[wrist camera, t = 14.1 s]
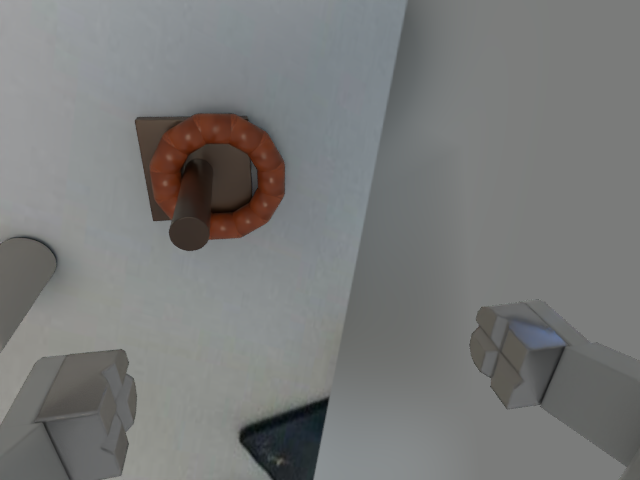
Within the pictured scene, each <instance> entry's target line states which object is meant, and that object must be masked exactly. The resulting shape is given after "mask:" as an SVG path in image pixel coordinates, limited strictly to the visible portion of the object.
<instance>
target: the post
mask: <svg viewBox="0 0 640 480" xmlns="http://www.w3.org/2000/svg"><path fill="white" fill-rule="evenodd" d="M240 117H241V118H243V119H245V120H247V121H248V117H247V116H240ZM188 118H189V117H137V118H136V120H135V125H136V130H137V136H138V141H139V146H140V152H141V157H142V163H143V168H144V173H145V179H146V184H147V190H148V195H149V201H150V206H151V211H152V217H153V221H163V220H171V219H170V218H169V217H168V216H167V215H166V213H165V212H164V211H163V210H162V209H161V208H160V206H159V205H158V204H157V203H156V201H155V199H154V195H153V189H152V183H151V176H150V170H149V165H150V161H151V159H152V157H153V155H154V153H155V151H156V149H157V146H158V144H159V142H160V140H161V138H162V136H163V134H164V133H165V132H166V131H168V130H169V129H171V128H173V127H174V126H176V125H178V124H179V123H181V122H183V121H184V120H186V119H188ZM181 179H182V182H181V186H180V190H179V194H178V198H177V202H176V206H175V210H174V214H173V218H172V222H171V226H170V230H169V236H170V239H171V241H172V242H173V244H174V245H175V246H177V247H178V248H180V249H182V250H186V251H194V250H198V249H200V248H202V247H203V246H204V245H205V244H206V243H207V242H208V240H209V235H210V219H211V212H212V213H228V212H234V211H236V210H238V209H239V208H241V207H243V206H245V205H246V204H248V203H249V202H250V200H251V199H252V184H251V165H250V158H249V156H248V155H247V154H246V153H245V152H243V151H241V150H239V149H237V148H235V147H233V146H231V145H229V144H206V145H204V146H203V147H201V148H199V149H198V150H196V151H194V152H193V153H191V154H189V156H188V158H187V160H186V162H185V164H184V166H183V168H182V170H181Z"/></svg>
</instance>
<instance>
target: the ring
mask: <svg viewBox="0 0 640 480" xmlns="http://www.w3.org/2000/svg"><path fill="white" fill-rule="evenodd" d="M206 144H229V145H231V146H233V147H235V148H237V149H239V150H241V151H243V152H245V153H246V154H247V155H248V156H249V158H250V159H251V161H252V162H253V164H254V166H255V167H256V169H257V175H258V188H257V190H256V192H255V193H254V195H253V197H252V199H251V200H250V202H249V203H248V204H246V205H245V206H243V207H241V208H239V209H238V210H236V211H234V212H228V213H212V212H211V219H210V235H209V240H213V239H230V238H241V237H243V236H245V235H247V234H249V233H250V232H252V231H254V230H255V229H257V228H259V227H261V226H262V225H264V224H266V223H267V222H268V221H269V220H270V219H271V217H272V215H273V214H274V212H275V210H276V209H277V207H278V205H279V204H280V202H281V200H282V199H283V197H284V194H285V164H284V160H283V158H282V157H281V155H280V153H279V152H278V150H277V148H276V147H275V145H274V143H273V142H272V140H271V138H270V136H269V135H268V134H267V133H266V132H265V131H264V130H262V129H261V128H259V127H257V126H255V125H254V124H252V123H250V122H248V121H247V120H245V119H243V118H241V117H240V116H238V115H236V114H218V113H198V114H195V115H193V116H191V117H189V118H188V119H186V120H184V121H183V122H181V123H179V124H178V125H176V126H174V127H173V128H171V129H169V130H168V131H166V132H165V133H164V134H163V136H162V138H161V140H160V142H159V144H158V146H157V149H156V151H155V153H154V155H153V157H152V159H151V161H150V165H149V170H150V176H151V183H152V189H153V195H154V199H155V201H156V203H157V204H158V205H159V206H160V208H161V209H162V210H163V211H164V212H165V213H166V215H167V216H168V217H169V218H170V219H171V221H172V218H173V214H174V210H175V206H176V202H177V198H178V194H179V190H180V186H181V182H182V179H181V170H182V168H183V166H184V164H185V162H186V160H187V158H188V156H189V154H191V153H193V152H194V151H196V150H198V149H199V148H201V147H203V146H204V145H206Z"/></svg>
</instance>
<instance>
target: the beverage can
mask: <svg viewBox="0 0 640 480" xmlns="http://www.w3.org/2000/svg"><path fill="white" fill-rule="evenodd" d="M55 269H56V259H55V257H54V255H53V253H52V252H51V251H50V250H49V248H47V247H46V246H45V245H43V244H42V243H40V242H37V241H35V240H32V239H28V238H14V239H10V240H7V241H4V242H3V243H2V244H0V353H1V351H2V350H3V348H4V347H5V345H6V344H7V342H8V341H9V339H10V338H11V336H12V335H13V333H14V332H15V330H16V329H17V328H18V326H19V325H20V323H21V322H22V320H23V319H24V317H25V316H26V314H27V313H28V311H29V310H30V308H31V307H32V305H33V303H34V302H35V300H36V299H37V297H38V296H39V294H40V293H41V291H42V290H43V288H44V287H45V285H46V284H47V282H48V281H49V279H50V278H51V276H52V275H53V273H54V272H55Z"/></svg>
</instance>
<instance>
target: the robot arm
mask: <svg viewBox="0 0 640 480" xmlns="http://www.w3.org/2000/svg"><path fill="white" fill-rule="evenodd" d="M476 321H477V323H478V324H479V327H478V328H477V329H476V330H475V331H474V332H473V333H472V335H471V340H470V352H471V356H472V359H473V361H474V364H475V365H476V367H477V368H478V370H479V371H480V372H481V373H483V374H485V375H486V376H488V377H490V378H491V386H490V387H491V388H492V389H493V391H494V392H495V393H496V395H497V396H498V398H499V399H500V400H501V402H502V403H503V404H504V406H505V407H506V409H513V408H521V407H528V406H535V405H541V406H540V407H541V408H543V409H544V410H546V411H547V412H548V413H550V414H551V415H553V416H554V417H556V418H557V419H558V420H560V421H561V422H563V423H564V424H566V425H567V426H569V427H570V428H571V429H573V430H574V431H576V432H577V433H579V434H580V435H581V436H583V437H584V438H586V439H587V440H589V441H590V442H592V443H593V444H595V445H596V446H598V447H599V448H600V449H602V450H603V451H605V452H606V453H607V454H609V455H610V456H612V457H613V458H615V459H616V460H618V461H619V462H621V463H622V464H623V465H625V466H626V467H627V468H626V469H625V471H624V472H623V474H622V475H621V477H620V479H619V480H640V361H639V360H637V359H635V358H632V357H630V356H628V355H625V354H623V353H621V352H618V351H616V350H614V349H611V348H609V347H607V346H604V345H601V344H599V343H597V342H596V343H590V342H589V341H588V340H587V339H586V338H585V337H584V336H583V335H581V334H580V333H579V332H578V331H577V330H576V329H575V328H574V327H572V326H571V325H570V324H569V323H568V322H567V321H566V320H565V319H563V318H562V317H561V316H560V315H559V314H558V313H557V312H556V311H554V310H553V309H552V308H551V307H550V306H549V305H548V304H546V302H544V301H541V300H539V299H536V300H529V301H521V302H518V303H517V302H516V303H508V304H500V305H492V306H484V307H481V309H480V310H479V311H478V313H477V316H476ZM128 365H129V361H128V358H127V355H126V352H125V351H124V350H122V349H119V350H108V351H98V352H87V353H77V354H70V355H61V356H51V357H42V358H41V359H40V360H38V361H37V362H36V363H35V364H34V366H33V368H32V370H31V372H30V373H29V375H28V377H27V379H26V380H25V382H24V384H23V386H22V388H21V389H20V391H19V393H18V395H17V396H16V398H15V400H14V402H13V404H12V405H11V407H10V409H9V411H8V412H7V414H6V416H5V418H4V420H3V421H2V423H1V425H0V480H102V479H107V478H112V477H117V476H121V475H122V470H123V466H124V462H125V458H126V454H127V449H128V445H129V443H128V440H127V436H126V433H125V432H126V431H127V430H128V429H129V428H130V427H131V426H132V425H133V424H134V419H135V414H136V404H137V394H136V386H135V382H134V378H133V377H131V376H130V375H128V374H127V373H126V372H127V368H128Z"/></svg>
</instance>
